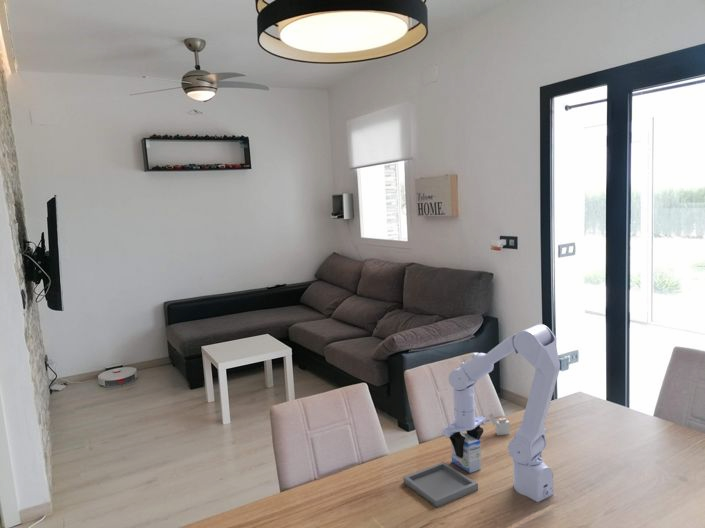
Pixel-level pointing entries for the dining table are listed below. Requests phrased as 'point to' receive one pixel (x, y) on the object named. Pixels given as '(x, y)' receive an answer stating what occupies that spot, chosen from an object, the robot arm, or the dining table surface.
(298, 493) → the dining table surface
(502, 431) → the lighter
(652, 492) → the dining table surface
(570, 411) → the dining table surface
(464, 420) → the robot arm
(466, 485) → the tray
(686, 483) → the dining table surface
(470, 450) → the medicine box
